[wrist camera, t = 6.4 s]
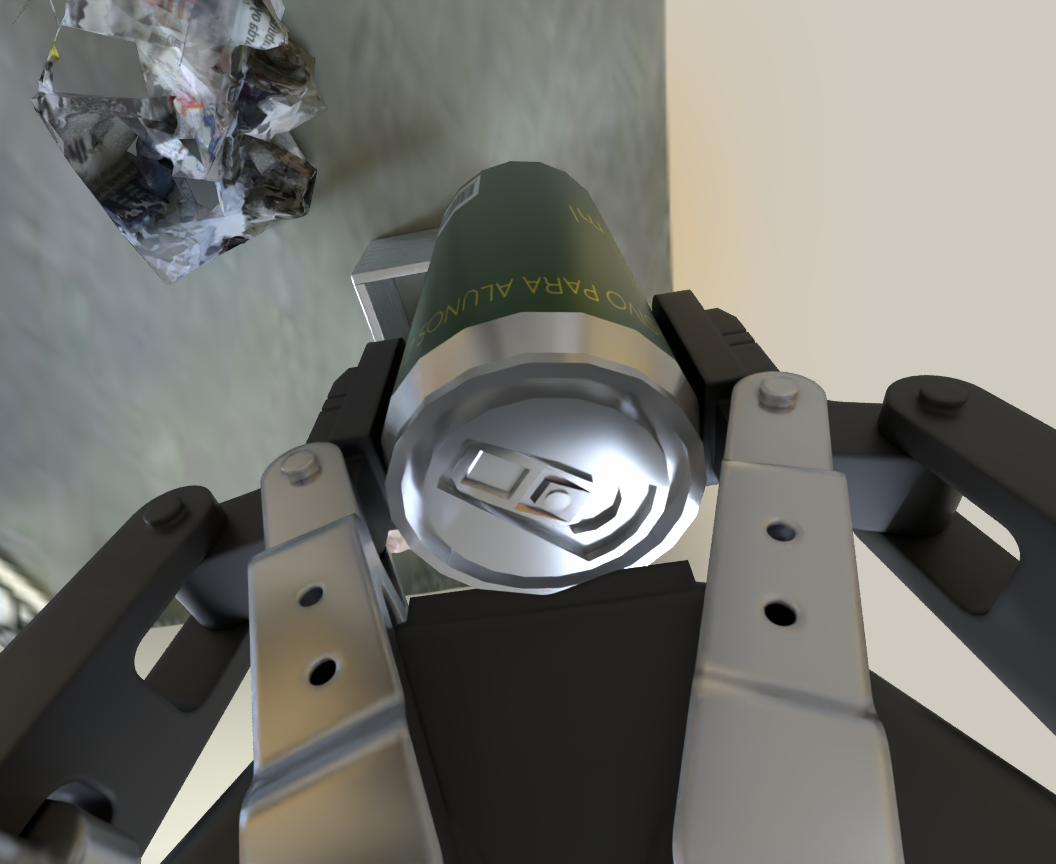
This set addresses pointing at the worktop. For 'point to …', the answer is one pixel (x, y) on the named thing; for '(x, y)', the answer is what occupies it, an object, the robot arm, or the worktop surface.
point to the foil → (191, 125)
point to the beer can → (537, 398)
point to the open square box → (390, 279)
